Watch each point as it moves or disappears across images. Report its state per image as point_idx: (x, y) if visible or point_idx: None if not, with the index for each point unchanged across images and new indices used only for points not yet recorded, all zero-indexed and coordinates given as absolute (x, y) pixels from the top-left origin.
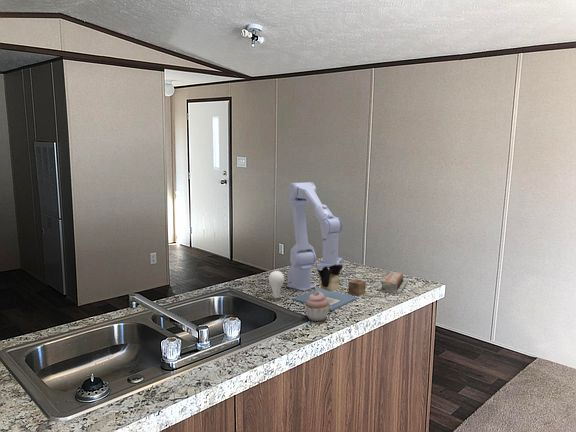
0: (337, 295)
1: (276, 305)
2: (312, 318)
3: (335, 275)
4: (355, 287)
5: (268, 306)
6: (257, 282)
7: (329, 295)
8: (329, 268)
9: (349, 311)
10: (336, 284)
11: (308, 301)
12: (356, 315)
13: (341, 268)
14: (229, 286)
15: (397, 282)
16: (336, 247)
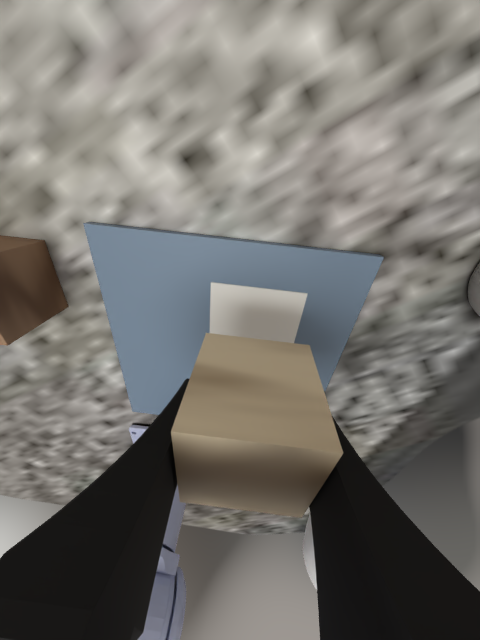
0: (152, 328)
1: (386, 442)
2: None
3: (193, 456)
4: (10, 282)
5: (406, 453)
6: (223, 512)
7: (181, 355)
8: (156, 569)
9: (335, 144)
10: (237, 365)
11: None
12: (409, 22)
13: (46, 543)
14: (289, 532)
15: None
16: None
